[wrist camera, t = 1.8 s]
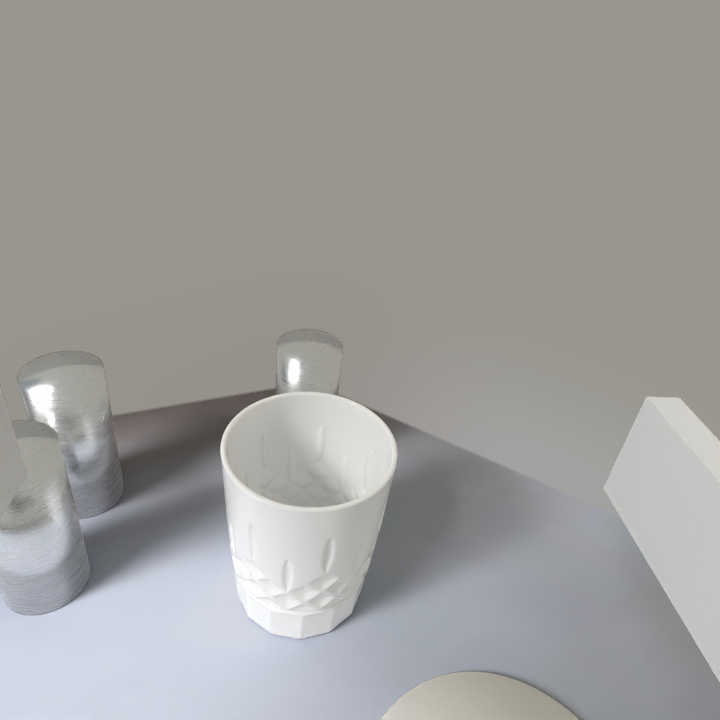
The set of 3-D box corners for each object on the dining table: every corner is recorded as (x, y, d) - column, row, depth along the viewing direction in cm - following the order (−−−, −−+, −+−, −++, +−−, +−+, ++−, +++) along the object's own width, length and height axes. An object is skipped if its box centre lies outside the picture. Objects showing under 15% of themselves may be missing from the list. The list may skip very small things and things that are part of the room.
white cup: (309, 503, 35) (320, 373, 29) (400, 589, 30) (433, 454, 25) (197, 572, 30) (185, 431, 24) (286, 687, 25) (296, 545, 20)
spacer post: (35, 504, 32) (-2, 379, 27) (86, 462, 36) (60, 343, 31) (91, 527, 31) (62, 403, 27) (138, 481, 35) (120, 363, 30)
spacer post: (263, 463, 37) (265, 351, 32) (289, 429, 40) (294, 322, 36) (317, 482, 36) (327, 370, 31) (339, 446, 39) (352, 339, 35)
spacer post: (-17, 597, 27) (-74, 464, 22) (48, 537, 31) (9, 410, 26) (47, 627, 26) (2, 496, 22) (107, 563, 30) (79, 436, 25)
